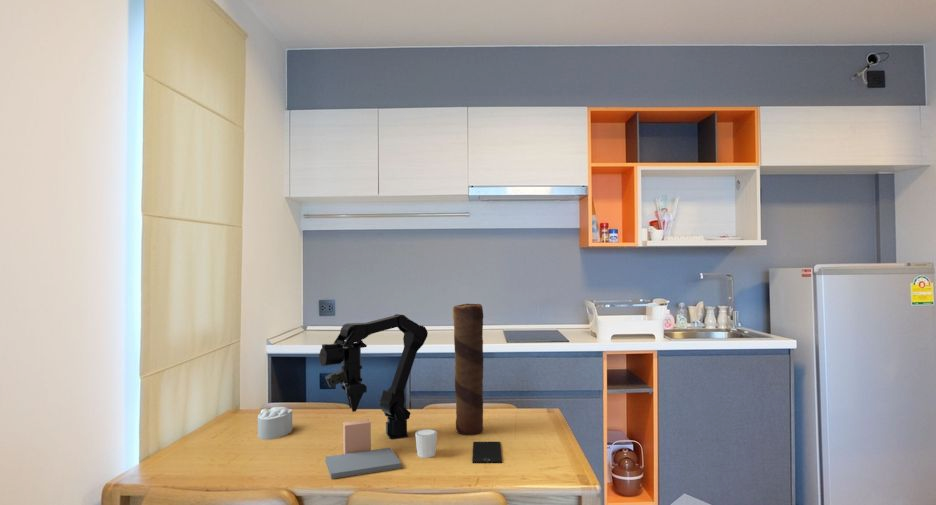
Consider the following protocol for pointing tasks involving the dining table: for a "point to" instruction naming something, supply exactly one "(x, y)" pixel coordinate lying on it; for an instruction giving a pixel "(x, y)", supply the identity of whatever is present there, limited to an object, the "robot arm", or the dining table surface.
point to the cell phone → (486, 452)
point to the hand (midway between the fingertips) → (352, 409)
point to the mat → (362, 462)
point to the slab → (357, 436)
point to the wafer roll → (468, 367)
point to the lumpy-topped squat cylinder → (274, 423)
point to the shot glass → (426, 442)
